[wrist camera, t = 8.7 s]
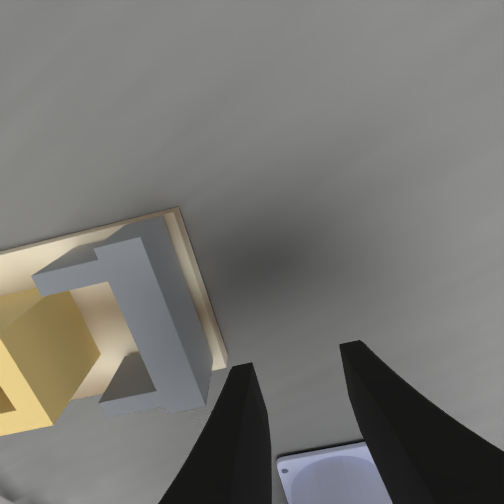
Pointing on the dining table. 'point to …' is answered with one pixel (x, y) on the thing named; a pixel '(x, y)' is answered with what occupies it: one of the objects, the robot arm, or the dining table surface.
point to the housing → (143, 317)
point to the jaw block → (40, 358)
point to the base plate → (110, 295)
